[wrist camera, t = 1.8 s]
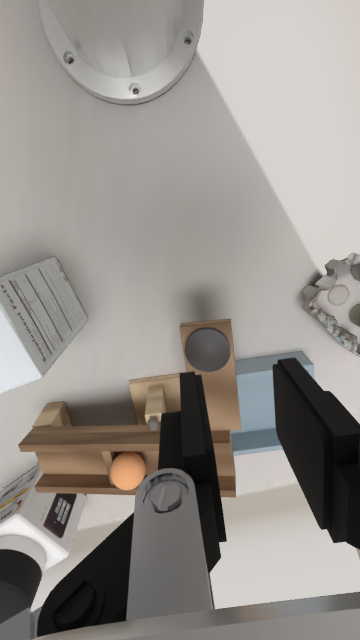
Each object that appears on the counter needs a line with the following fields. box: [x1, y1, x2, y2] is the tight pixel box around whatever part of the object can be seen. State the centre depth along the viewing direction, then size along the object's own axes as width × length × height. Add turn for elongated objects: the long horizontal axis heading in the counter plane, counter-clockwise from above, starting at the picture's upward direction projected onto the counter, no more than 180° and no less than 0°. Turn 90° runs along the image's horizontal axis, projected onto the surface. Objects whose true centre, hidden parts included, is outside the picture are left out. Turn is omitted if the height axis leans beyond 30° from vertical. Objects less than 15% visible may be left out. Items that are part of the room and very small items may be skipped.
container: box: [0, 464, 86, 624], centre depth 34 cm, size 8×8×13 cm
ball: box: [110, 452, 145, 490], centre depth 29 cm, size 3×3×3 cm
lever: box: [18, 319, 241, 497], centre depth 28 cm, size 17×21×3 cm
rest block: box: [32, 401, 72, 428], centre depth 35 cm, size 6×2×4 cm, turn 8°
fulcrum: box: [129, 374, 181, 425], centre depth 34 cm, size 9×6×6 cm, turn 8°
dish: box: [231, 351, 314, 456], centre depth 35 cm, size 10×10×4 cm
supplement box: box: [0, 257, 88, 394], centre depth 26 cm, size 7×7×13 cm
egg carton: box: [302, 253, 360, 357], centre depth 31 cm, size 11×8×4 cm
